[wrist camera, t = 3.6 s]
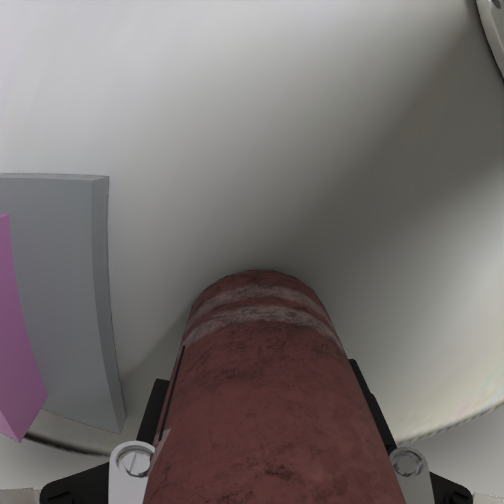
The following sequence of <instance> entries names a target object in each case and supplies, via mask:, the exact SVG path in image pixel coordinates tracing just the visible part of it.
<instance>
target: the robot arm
mask: <svg viewBox="0 0 504 504" xmlns="http://www.w3.org/2000/svg"><path fill="white" fill-rule="evenodd" d="M476 2H477V6H478V10H479V14H480V18H481V22H482V25H483V28H484V31H485V34H486V37H487V40H488V43H489V45H490V47H491V50H492V52H493V55H494V58H495V60H496V63H497V65H498V67H499V69H500V71H501V73H502V75H503V78H504V0H476ZM184 350H185V345H183V348H182V352H181V355H180V359H179V362H178V366H177V369H176V373H175V377H174V380H173V384H172V388H171V391H170V395H169V399H168V403H167V407H166V410H165V414H164V418H163V422H162V426H161V430H160V434H159V438H158V442H160V441H161V440H162V436H163V432H164V427H165V423H166V419H167V415H168V411H169V407H170V403H171V399H172V395H173V392H174V388H175V384H176V380H177V376H178V372H179V369H180V365H181V361H182V358H183V354H184ZM348 360H349V363H350V365H351V367H352V369H353V372H354V374H355V376H356V379H357V381H358V383H359V386H360V388H361V390H362V393H363V395H364V397H365V400H366V402H367V404H368V407H369V409H370V412H371V414H372V416H373V419H374V421H375V424H376V426H377V429H378V431H379V433H380V436H381V438H382V441H383V443H384V446H385V448H386V451H387V454H388V456H389V459H390V461H391V464H392V466H393V469H394V472H395V474H396V477H397V480H398V482H399V485H400V488H401V490H402V493H403V496H404V498H405V501H406V504H504V498H502V497H495V496H489V495H483V494H478V493H474V494H473V495H471V493H470V491H469V490H468V489H467V488H465V487H463V486H462V485H459V484H457V483H454V482H452V481H450V480H447V479H445V478H443V477H441V476H438V475H436V474H434V473H432V472H429V469H428V465H427V461H426V459H425V457H424V456H423V455H422V453H420V452H419V451H418V450H416V449H413V448H410V447H400V448H397V446H396V444H395V441H394V439H393V437H392V434H391V432H390V430H389V427H388V425H387V423H386V421H385V418H384V416H383V414H382V412H381V409H380V407H379V405H378V403H377V401H376V398H375V397H374V395H373V394H371V393H370V391H369V388H368V386H367V384H366V382H365V380H364V377H363V375H362V373H361V371H360V369H359V367H358V364H357V362H356V361H355V360H354V359H348ZM169 383H170V381H168V380H162V379H156V381H155V383H154V386H153V389H152V392H151V395H150V398H149V401H148V404H147V407H146V410H145V413H144V416H143V419H142V422H141V426H140V429H139V432H138V435H137V438H136V441H128V442H125V443H121V444H120V445H118V446H117V447H115V449H114V450H113V452H112V453H111V457H110V462H107V463H105V464H102V465H99V466H97V467H94V468H91V469H89V470H86V471H83V472H80V473H77V474H74V475H72V476H69V477H65V478H63V479H59V480H56V481H53V482H51V483H49V484H47V485H46V486H44V487H43V489H42V490H34V489H33V488H23V489H6V490H0V504H142V503H143V499H144V494H145V490H146V485H147V481H148V477H149V476H148V477H145V474H146V473H147V471H148V470H149V467H150V460H149V459H150V455H151V454H154V452H155V448H154V447H153V442H154V438H155V434H156V430H157V427H158V423H159V419H160V415H161V412H162V408H163V404H164V401H165V397H166V394H167V390H168V386H169Z"/></svg>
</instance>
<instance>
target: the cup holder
mask: <svg viewBox="0 0 504 504" xmlns="http://www.w3.org/2000/svg"><path fill="white" fill-rule="evenodd" d="M108 187H109V176H92V175H70V174H36V173H0V432H1V433H3V434H4V435H6V436H8V437H10V438H11V439H14V440H16V441H17V442H19V443H20V442H21V440H22V439H23V437H24V435H25V434H26V432H27V430H28V428H29V427H30V425H31V423H32V422H33V420H34V418H35V417H36V415H37V414H38V412H39V410H40V409H41V408H42V409H45V410H47V411H50V412H52V413H55V414H57V415H60V416H63V417H66V418H68V419H71V420H74V421H77V422H80V423H83V424H86V425H89V426H92V427H96V428H99V429H103V430H106V431H110V432H113V433H117V434H120V433H121V431H122V428H123V425H124V422H125V420H126V412H125V407H124V402H123V397H122V392H121V386H120V380H119V374H118V368H117V361H116V354H115V346H114V338H113V329H112V320H111V308H110V295H109V279H108V250H107V215H108Z"/></svg>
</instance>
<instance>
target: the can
mask: <svg viewBox="0 0 504 504" xmlns="http://www.w3.org/2000/svg"><path fill="white" fill-rule="evenodd" d="M183 345H185V350H184V354H183V358H182V361H181V365H180V369H179V372H178V376H177V380H176V384H175V388H174V392H173V395H172V399H171V403H170V407H169V411H168V415H167V419H166V423H165V427H164V432H163V436H162V440H161V441H160V442H158V438H159V434H160V430H161V426H162V422H163V418H164V414H165V410H166V407H167V403H168V399H169V395H170V391H171V388H172V384H173V380H174V377H175V373H176V369H177V366H178V362H179V359H180V355H181V352H182V348H183ZM153 447H154V448H155V452H154V454H151V455H150V459H149V460H150V467H149V470H148V471H147V473H146V474H145V477H148V476H149V477H148V481H147V485H146V490H145V494H144V499H143V503H142V504H406V501H405V498H404V496H403V493H402V490H401V488H400V485H399V482H398V480H397V477H396V474H395V472H394V469H393V466H392V464H391V461H390V459H389V456H388V454H387V451H386V448H385V446H384V443H383V441H382V438H381V436H380V433H379V431H378V429H377V426H376V424H375V421H374V419H373V416H372V414H371V412H370V409H369V407H368V404H367V402H366V400H365V397H364V395H363V393H362V390H361V388H360V386H359V383H358V381H357V379H356V376H355V374H354V372H353V369H352V367H351V365H350V363H349V360H348V358H347V356H346V354H345V351H344V349H343V347H342V345H341V342H340V340H339V338H338V336H337V334H336V331H335V329H334V327H333V325H332V323H331V320H330V318H329V316H328V314H327V312H326V310H325V307H324V306H323V304H322V303H321V301H320V300H319V298H318V297H317V295H316V294H315V292H314V291H313V290H312V289H310V288H309V287H308V286H306V285H305V284H304V283H302V282H301V281H299V280H298V279H297V278H295V277H292V276H288V275H285V274H282V273H279V272H276V271H266V270H247V271H244V272H240V273H237V274H233V275H230V276H226V277H224V278H222V279H221V280H219V281H218V282H216V283H215V284H213V285H211V286H210V287H208V288H207V289H205V290H204V292H203V293H202V294H201V296H200V297H199V298H198V300H197V301H196V302H195V304H194V305H193V306H192V309H191V313H190V316H189V319H188V322H187V325H186V329H185V332H184V335H183V339H182V342H181V345H180V349H179V352H178V355H177V359H176V362H175V366H174V369H173V372H172V376H171V379H170V383H169V386H168V390H167V394H166V397H165V401H164V404H163V408H162V412H161V415H160V419H159V423H158V427H157V430H156V434H155V438H154V442H153Z"/></svg>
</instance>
